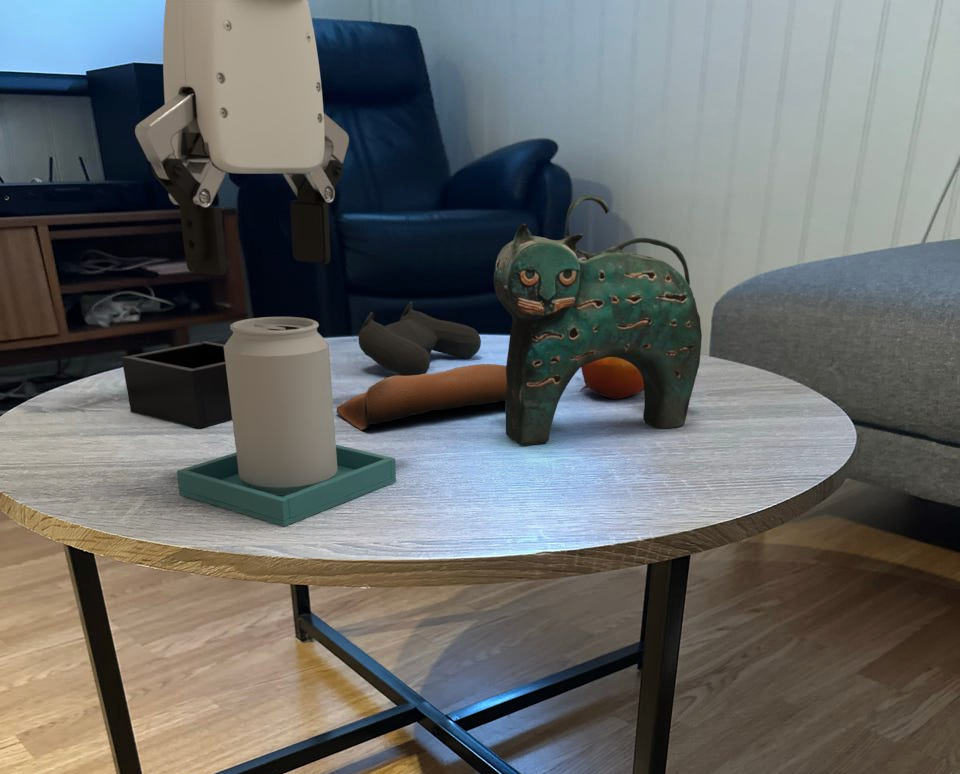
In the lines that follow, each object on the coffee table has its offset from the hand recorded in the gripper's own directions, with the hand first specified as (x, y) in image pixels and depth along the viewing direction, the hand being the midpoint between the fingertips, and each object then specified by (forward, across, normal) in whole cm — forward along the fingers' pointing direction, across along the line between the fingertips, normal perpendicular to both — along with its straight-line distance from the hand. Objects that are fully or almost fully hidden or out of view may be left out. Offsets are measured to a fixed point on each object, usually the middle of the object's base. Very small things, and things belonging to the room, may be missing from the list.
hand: (262, 267), depth 65 cm
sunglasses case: (+16, -25, -5) cm, 30 cm away
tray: (+16, -1, +1) cm, 16 cm away
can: (+16, -1, +1) cm, 16 cm away
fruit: (+15, -43, +7) cm, 46 cm away
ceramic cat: (+16, -29, +12) cm, 35 cm away
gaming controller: (+16, -42, -19) cm, 49 cm away
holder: (+16, -13, -23) cm, 31 cm away
